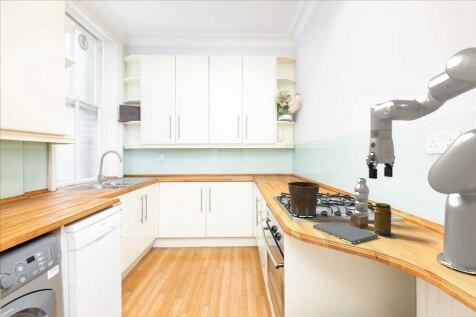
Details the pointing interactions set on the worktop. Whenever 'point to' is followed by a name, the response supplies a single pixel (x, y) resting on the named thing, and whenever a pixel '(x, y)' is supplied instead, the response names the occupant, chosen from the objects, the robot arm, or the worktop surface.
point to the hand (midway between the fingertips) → (380, 177)
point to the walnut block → (359, 220)
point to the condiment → (383, 221)
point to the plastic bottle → (361, 197)
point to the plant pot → (303, 198)
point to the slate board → (345, 231)
